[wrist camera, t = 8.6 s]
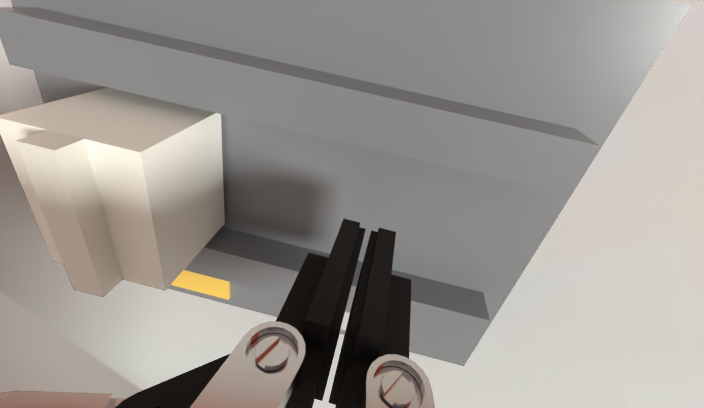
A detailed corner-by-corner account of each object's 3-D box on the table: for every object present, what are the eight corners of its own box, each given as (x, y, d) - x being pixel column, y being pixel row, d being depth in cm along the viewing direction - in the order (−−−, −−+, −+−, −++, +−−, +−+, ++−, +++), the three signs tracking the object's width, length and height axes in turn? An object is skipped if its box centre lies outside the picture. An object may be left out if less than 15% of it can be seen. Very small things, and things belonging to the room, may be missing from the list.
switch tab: (220, 110, 12) (115, 165, 7) (224, 223, 14) (148, 309, 10) (114, 85, 12) (-45, 126, 8) (137, 201, 14) (28, 277, 10)
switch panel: (643, 6, 10) (740, 5, 7) (459, 333, 18) (467, 395, 15) (34, -120, 11) (-109, -168, 8) (125, 246, 19) (73, 290, 16)
